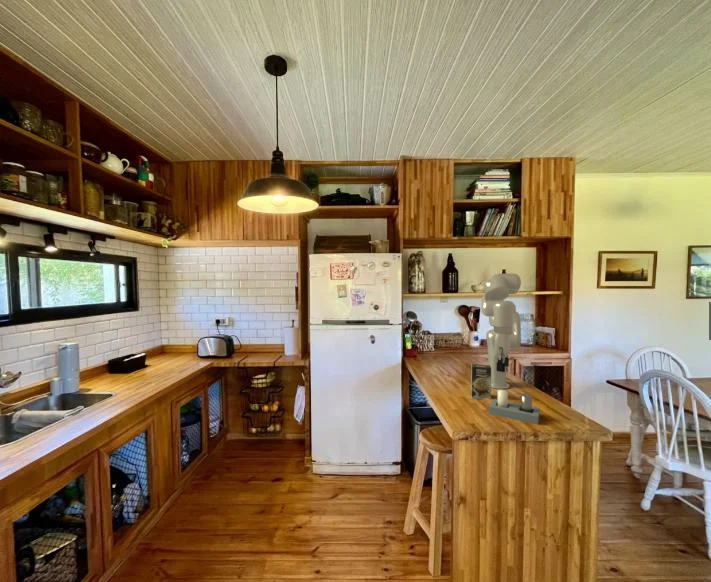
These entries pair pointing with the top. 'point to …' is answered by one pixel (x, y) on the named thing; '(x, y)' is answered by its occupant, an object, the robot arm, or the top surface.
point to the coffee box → (480, 381)
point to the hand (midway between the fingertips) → (502, 368)
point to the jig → (515, 412)
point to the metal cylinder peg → (526, 403)
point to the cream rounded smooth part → (503, 398)
